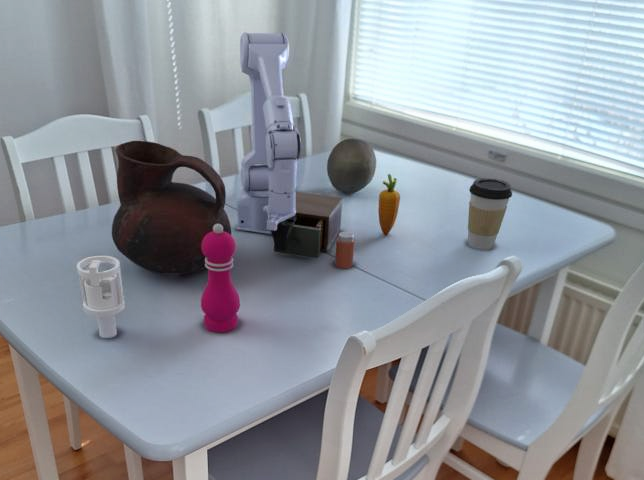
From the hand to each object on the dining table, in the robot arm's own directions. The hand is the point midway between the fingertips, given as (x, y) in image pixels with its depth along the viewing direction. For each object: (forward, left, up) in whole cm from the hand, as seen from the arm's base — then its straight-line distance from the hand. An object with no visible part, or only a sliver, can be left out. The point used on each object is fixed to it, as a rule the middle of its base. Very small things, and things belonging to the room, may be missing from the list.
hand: (280, 249), depth 148 cm
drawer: (+2, +9, -2) cm, 10 cm away
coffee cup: (+43, +27, -4) cm, 51 cm away
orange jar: (+14, +4, -3) cm, 15 cm away
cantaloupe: (+5, +51, -4) cm, 52 cm away
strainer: (-20, -40, -4) cm, 45 cm away
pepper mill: (-2, -30, -4) cm, 30 cm away
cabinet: (+3, +16, -3) cm, 17 cm away
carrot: (+20, +24, -4) cm, 31 cm away
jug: (-21, -9, -4) cm, 23 cm away
